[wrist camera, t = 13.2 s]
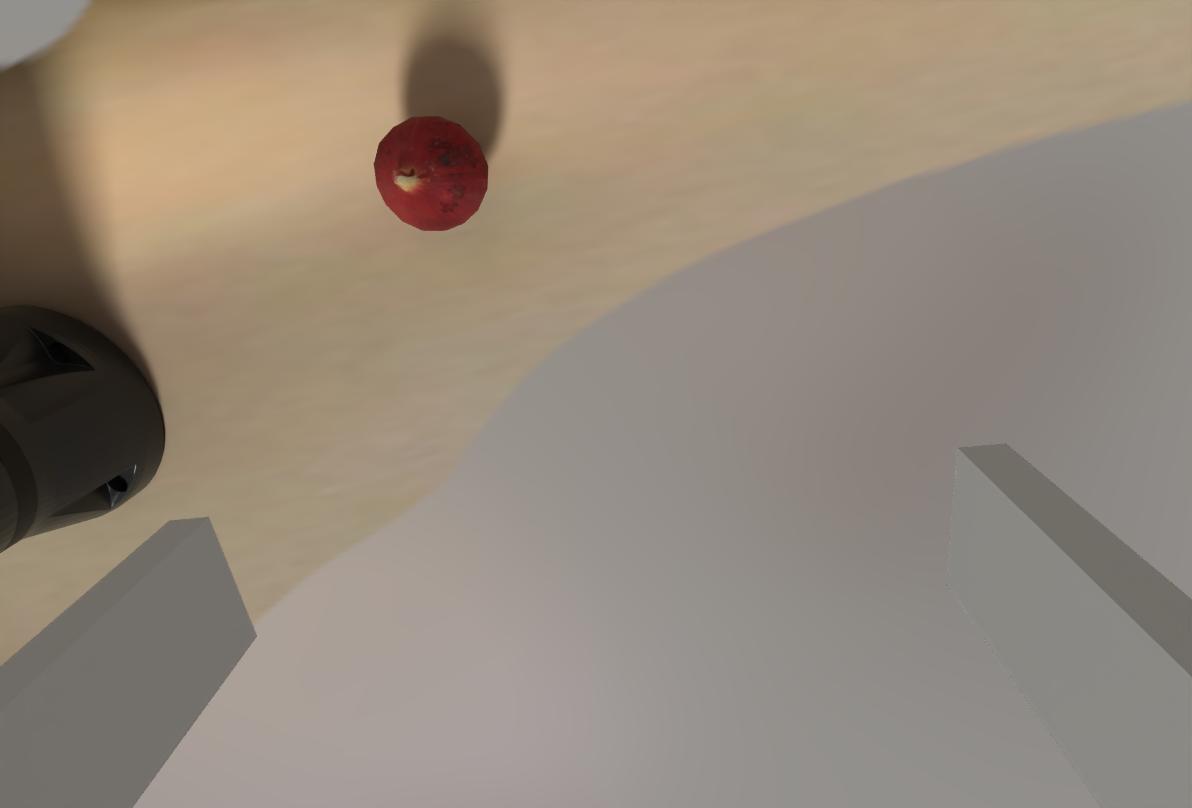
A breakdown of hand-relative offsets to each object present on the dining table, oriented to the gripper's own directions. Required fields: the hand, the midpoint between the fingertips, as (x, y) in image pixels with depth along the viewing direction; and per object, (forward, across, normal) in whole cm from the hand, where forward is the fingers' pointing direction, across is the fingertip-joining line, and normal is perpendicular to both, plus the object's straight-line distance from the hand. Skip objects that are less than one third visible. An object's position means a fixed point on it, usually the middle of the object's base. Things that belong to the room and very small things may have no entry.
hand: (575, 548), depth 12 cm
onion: (+31, -9, +6) cm, 33 cm away
